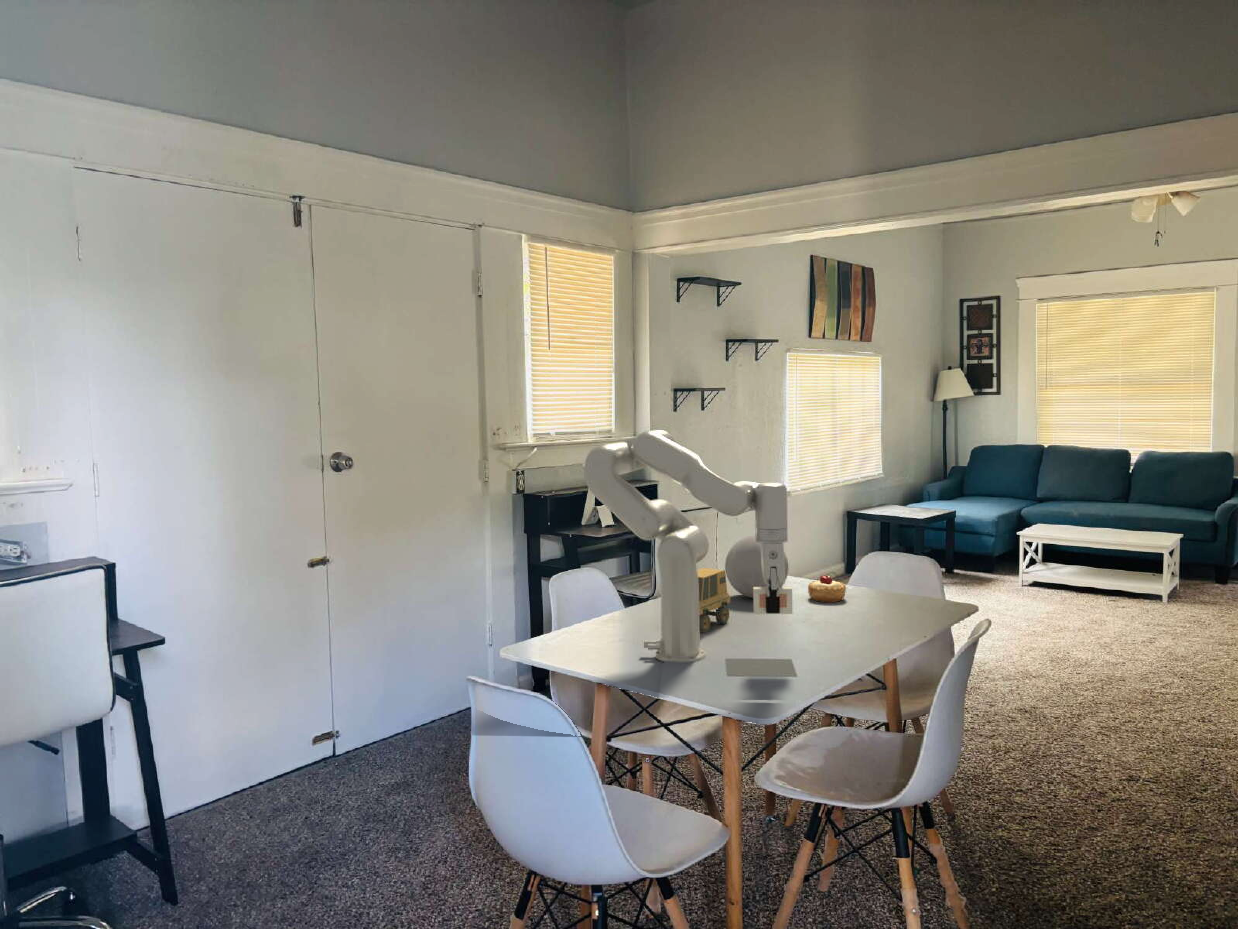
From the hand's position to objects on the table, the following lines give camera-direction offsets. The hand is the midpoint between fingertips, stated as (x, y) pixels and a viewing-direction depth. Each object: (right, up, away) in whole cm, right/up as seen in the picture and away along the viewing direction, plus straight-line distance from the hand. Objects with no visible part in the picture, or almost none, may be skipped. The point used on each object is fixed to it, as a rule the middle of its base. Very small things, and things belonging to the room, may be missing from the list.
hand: (772, 610), depth 222 cm
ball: (+8, -8, +75) cm, 76 cm away
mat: (-3, -14, -2) cm, 14 cm away
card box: (0, 0, 0) cm, 0 cm away
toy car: (-13, -11, +41) cm, 45 cm away
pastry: (+29, -8, +72) cm, 78 cm away
